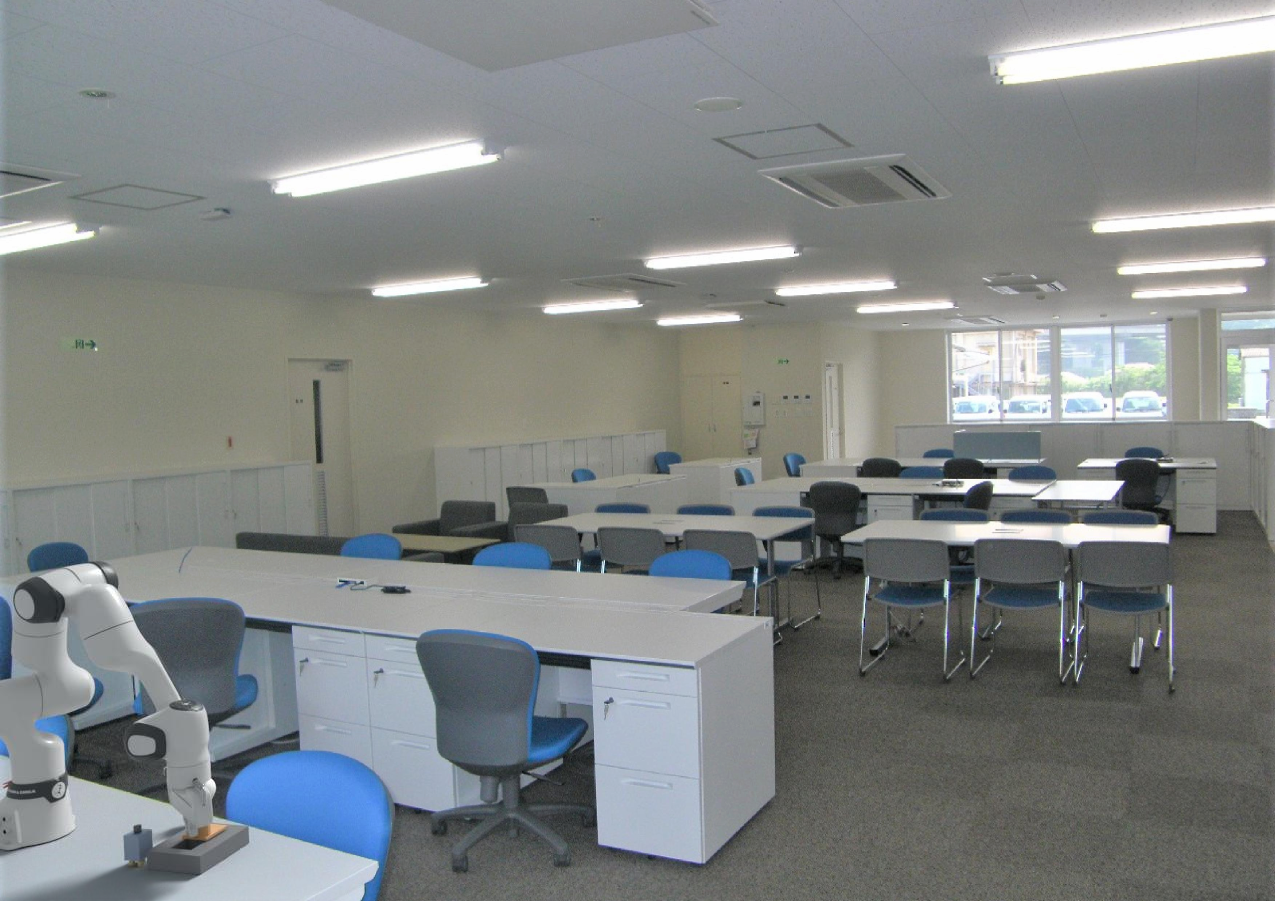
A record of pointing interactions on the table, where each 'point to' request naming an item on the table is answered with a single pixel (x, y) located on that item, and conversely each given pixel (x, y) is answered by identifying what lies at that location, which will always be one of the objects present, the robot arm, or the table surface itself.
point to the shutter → (207, 832)
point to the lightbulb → (211, 787)
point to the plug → (137, 845)
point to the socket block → (196, 851)
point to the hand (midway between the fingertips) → (191, 834)
